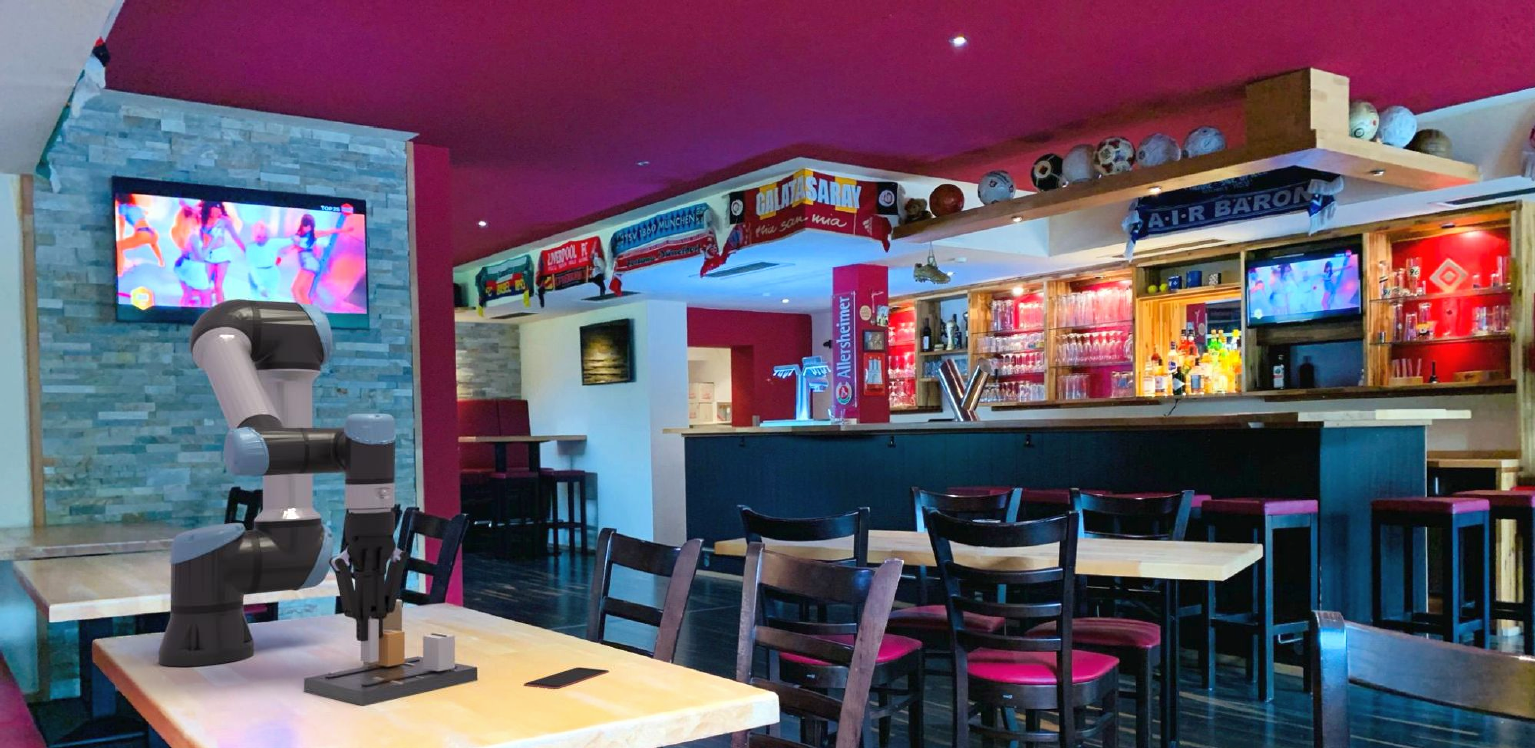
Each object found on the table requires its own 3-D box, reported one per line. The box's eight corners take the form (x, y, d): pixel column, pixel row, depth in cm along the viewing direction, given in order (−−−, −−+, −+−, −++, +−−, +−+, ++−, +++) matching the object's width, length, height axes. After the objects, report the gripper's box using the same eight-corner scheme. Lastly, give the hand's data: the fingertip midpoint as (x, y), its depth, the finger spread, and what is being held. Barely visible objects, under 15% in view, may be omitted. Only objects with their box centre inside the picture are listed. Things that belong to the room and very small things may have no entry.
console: (302, 691, 168) (302, 676, 169) (416, 668, 184) (416, 654, 184) (364, 705, 158) (364, 690, 158) (478, 680, 174) (478, 666, 174)
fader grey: (423, 668, 172) (423, 634, 172) (439, 664, 175) (439, 631, 175) (438, 671, 170) (438, 637, 170) (454, 667, 172) (454, 634, 172)
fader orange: (373, 663, 176) (373, 630, 177) (390, 660, 179) (390, 628, 179) (387, 666, 174) (388, 633, 174) (404, 663, 176) (404, 630, 177)
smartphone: (611, 670, 179) (556, 687, 167) (611, 673, 179) (556, 691, 167) (577, 666, 182) (520, 683, 170) (577, 670, 182) (520, 687, 170)
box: (372, 669, 183) (372, 602, 184) (362, 666, 187) (362, 600, 187) (403, 665, 187) (403, 599, 187) (392, 661, 190) (393, 596, 191)
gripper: (345, 514, 168) (344, 670, 166) (419, 508, 178) (419, 656, 177) (319, 512, 172) (318, 665, 171) (393, 507, 183) (392, 651, 181)
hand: (369, 660), depth 174 cm, fingers closed
